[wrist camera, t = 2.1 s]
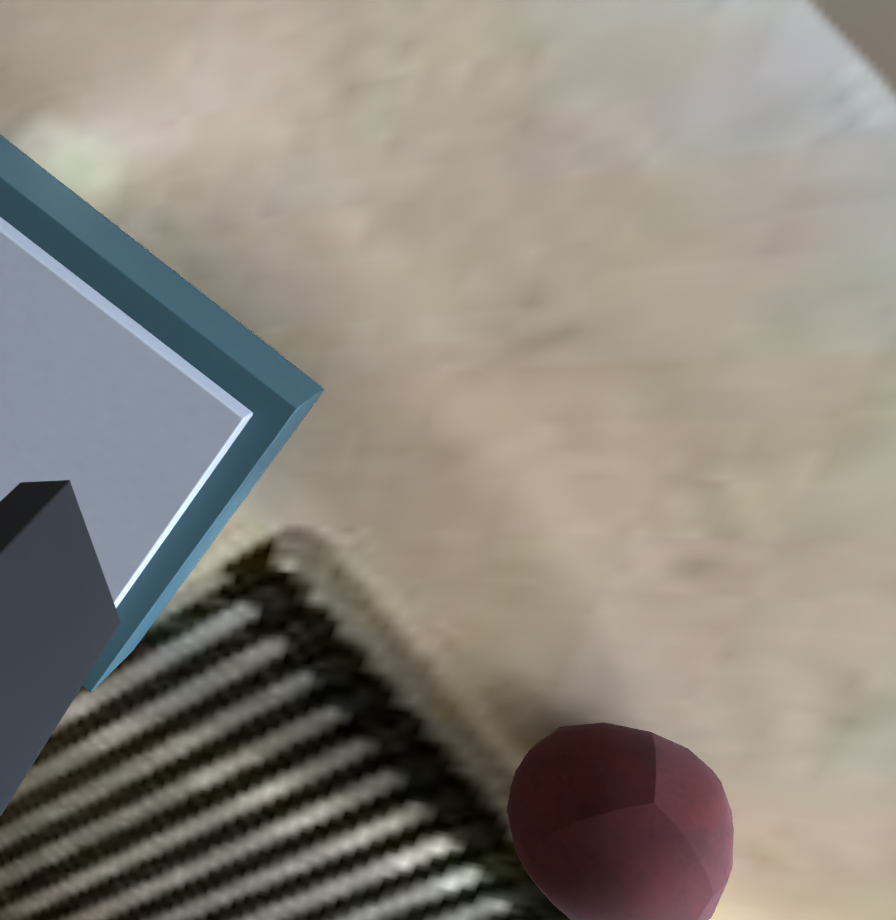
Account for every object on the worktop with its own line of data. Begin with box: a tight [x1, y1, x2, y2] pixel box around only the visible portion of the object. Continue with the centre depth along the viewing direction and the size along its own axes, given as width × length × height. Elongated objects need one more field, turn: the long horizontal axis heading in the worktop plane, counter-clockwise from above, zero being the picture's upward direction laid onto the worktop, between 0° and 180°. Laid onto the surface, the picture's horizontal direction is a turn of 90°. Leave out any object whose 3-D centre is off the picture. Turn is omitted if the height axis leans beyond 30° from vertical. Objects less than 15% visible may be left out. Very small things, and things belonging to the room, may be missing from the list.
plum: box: [507, 723, 734, 920], centre depth 26 cm, size 7×8×6 cm
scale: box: [0, 135, 324, 692], centre depth 26 cm, size 15×14×4 cm
